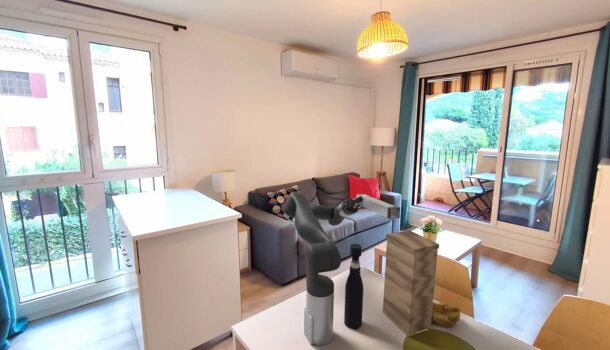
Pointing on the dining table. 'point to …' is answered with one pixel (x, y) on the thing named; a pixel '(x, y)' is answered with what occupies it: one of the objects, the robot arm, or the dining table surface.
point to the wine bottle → (354, 291)
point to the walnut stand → (409, 280)
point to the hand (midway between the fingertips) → (366, 198)
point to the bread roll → (444, 314)
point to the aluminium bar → (380, 207)
